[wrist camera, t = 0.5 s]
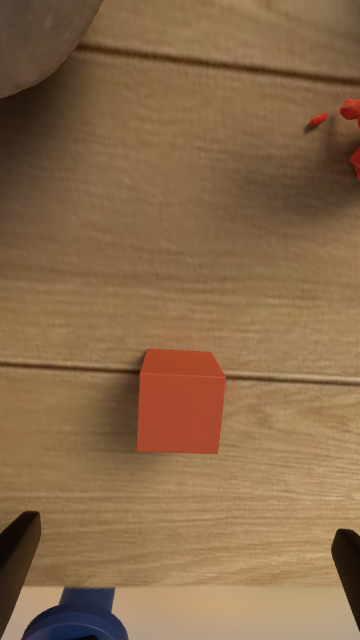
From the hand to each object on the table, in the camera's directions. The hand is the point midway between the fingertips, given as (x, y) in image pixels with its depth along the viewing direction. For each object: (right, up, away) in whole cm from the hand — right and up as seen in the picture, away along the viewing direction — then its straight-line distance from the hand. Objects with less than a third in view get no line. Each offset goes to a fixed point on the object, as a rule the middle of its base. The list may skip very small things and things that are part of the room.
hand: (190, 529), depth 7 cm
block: (-1, +1, +12) cm, 12 cm away
